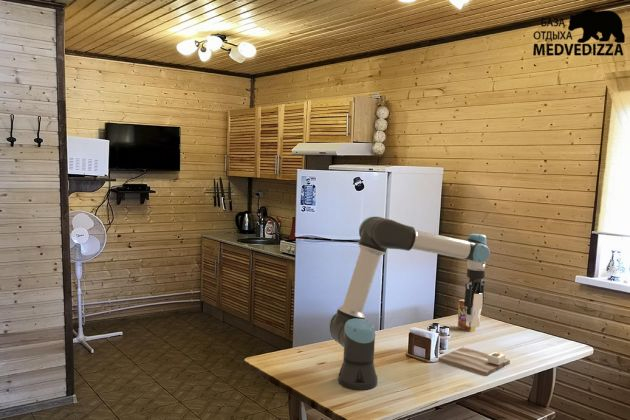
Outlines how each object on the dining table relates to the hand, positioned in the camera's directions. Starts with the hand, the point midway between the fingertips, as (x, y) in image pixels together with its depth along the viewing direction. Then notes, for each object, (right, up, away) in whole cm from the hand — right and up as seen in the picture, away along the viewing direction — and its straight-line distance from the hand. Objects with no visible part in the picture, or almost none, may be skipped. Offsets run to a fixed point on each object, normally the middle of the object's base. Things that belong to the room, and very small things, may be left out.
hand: (473, 320), depth 236 cm
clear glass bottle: (0, -3, 0) cm, 3 cm away
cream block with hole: (+8, -16, -7) cm, 20 cm away
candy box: (+10, -15, +47) cm, 51 cm away
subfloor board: (-1, -18, -3) cm, 18 cm away
